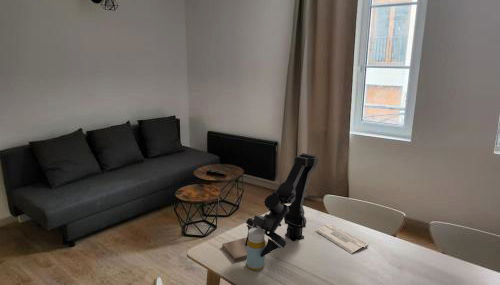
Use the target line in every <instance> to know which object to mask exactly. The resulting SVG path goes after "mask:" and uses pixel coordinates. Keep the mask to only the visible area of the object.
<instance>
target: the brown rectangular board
mask: <svg viewBox="0 0 500 285" xmlns="http://www.w3.org/2000/svg"><path fill="white" fill-rule="evenodd" d="M246 239H247V236H246V237H243V238H240V239H234V240H231V241H228V242H225V243H222V244H221V245H222V246H221V247H222V249H223V250H224V251H225V252H226V253H227V255H228V256H229V257H230V258H231V259H232V260H233V261H234V262H235V263H236V262H238V261H242V260H247V246H245V243H246ZM264 240H265V246H266V245H267V243H268V240H266V239H265V238H264Z"/></svg>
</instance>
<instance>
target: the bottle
mask: <svg viewBox="0 0 500 285" xmlns="http://www.w3.org/2000/svg"><path fill="white" fill-rule="evenodd" d="M247 235H248V236H249V237H248V241H247V258H246V266H247V268H248V269H250V270H251V271H255V272H256V271H261V270H262V269H263V268H264V267H265V263H266V261H265V259H266V255H265V256H263V257H261V256H260V255H261V253H262V251H263V250H264V248H265V240H266V239H265V237H266V235H265V232H264V229H261V228H251V229H250V230H249V233H248V232H247ZM264 239H265V240H264Z"/></svg>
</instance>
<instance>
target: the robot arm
mask: <svg viewBox="0 0 500 285" xmlns="http://www.w3.org/2000/svg"><path fill="white" fill-rule="evenodd" d="M318 164H319V158H318V157H317V156H316V155H314V154H310V153H305V152H302V153H301V154H297V156H296V157H295V158H294V163H293V165H292V167H291V169H290V172H289V173H288V176H287V177H286V179H285V181H284V182H281V183H280V184H279V185H278V188H277V189H276V190H275V191H273V192H272V194H270V195H268V196H267V197H266V198H264V202H263V203H264V206H265V207H266V209H268V211H269V213H265V214H264V216H263V215H259V214H254V216H253V218H251V217H249V218H247V220H246V221H245V224H246V227H247V236H246V237H247V239H246V243H245V246H247V241H248V237H249V236H248V233H249V230H250V229H251V228H261V229H263V230H264V232H265V236H267V242H268V243H267V245H266V246H265V248H264V250H263V251H262V253H261V255H260V256H261V257H263V256H265V257H266V255H268V254H270V253H271V252H273V251H275V250H277V249H281V248H283V249H284V248H285V246H286V245H287V240H286V239H285V238H284V237H283V236H282V235H280V234H279V233H277V232H276V231H277V229H278V228H279V227H282V224H281V223H282V221H283V220H284V224H285V225H287V227H286V233H284V236H286V237H287V238H288V239H290V240H291V241H292V242H295V241H299V240H301V239H305V236H304V235H303V229H304V228H306V226H307V218H306V217H305V210H304V206H303V205H304V201H305V197H306V192H307V189H308V184H309V181H310V178H311V177H310V176H311V174H312V173H313V172H314V171H315V170H316V168H317V166H318ZM287 204H288V205H287Z"/></svg>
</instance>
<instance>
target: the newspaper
mask: <svg viewBox="0 0 500 285" xmlns="http://www.w3.org/2000/svg"><path fill="white" fill-rule="evenodd" d="M315 232H316V233H317V234H318V235H319V236H322V237H324V239H327V240H328V241H330V242H331V243H333V244H334V245H336V246H338V247H339V248H341V249H343V250H344V251H345V252H347V251H348V252H347V253H349V254H351V255H353V253H355V252H356V251H359V250H360V249H361V248H362V247H364V246H365V247H367V248H368V247H369V243H367V242H365V241H364V240H362V239H359V238H358V237H355V236H353V235H352V234H350V233H348V232H346V231H344V230H342V229H340V228H339V227H337V226H335V225H334V224H332V223H327V224H325V225H323V226H321V227H319V228H316V230H315ZM362 249H363V248H362Z"/></svg>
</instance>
